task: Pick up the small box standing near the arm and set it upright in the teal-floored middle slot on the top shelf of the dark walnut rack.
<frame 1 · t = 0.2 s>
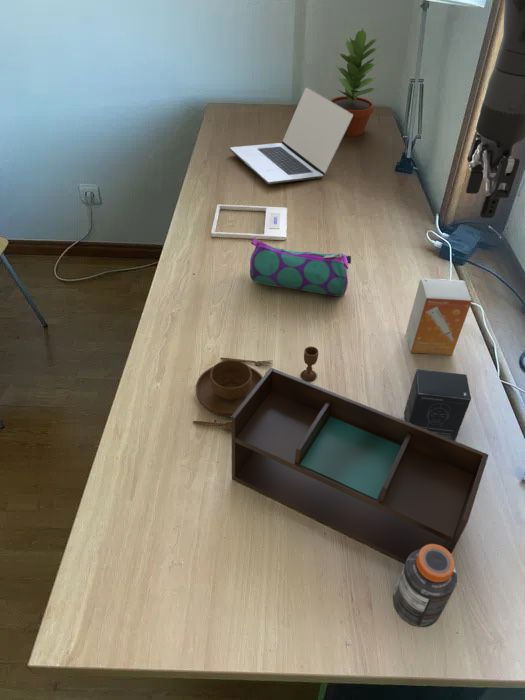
hand: (478, 204, 93), 27 cm above the table, tool pointing down, fingers open, 8 cm apart
box: (427, 429, 92), on the table
rack: (343, 497, 82), on the table
potted plant: (348, 131, 189), on the table
place setting: (254, 397, 96), on the table
pencil case: (297, 287, 121), on the table
pill bottle: (415, 605, 70), on the table
small box: (428, 344, 108), on the table
laptop: (284, 164, 167), on the table
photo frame: (250, 223, 140), on the table
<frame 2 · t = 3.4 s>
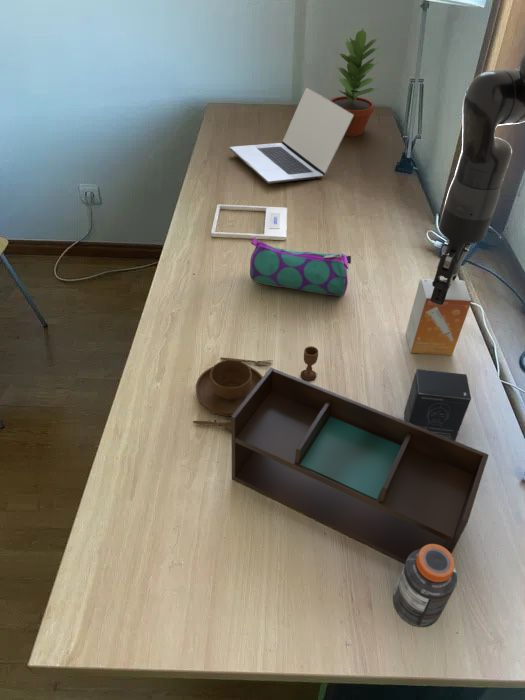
hand: (443, 290, 99), 13 cm above the table, tool pointing down, fingers closed on small box, 8 cm apart
small box: (428, 344, 108), on the table, touching gripper
everything else where it was.
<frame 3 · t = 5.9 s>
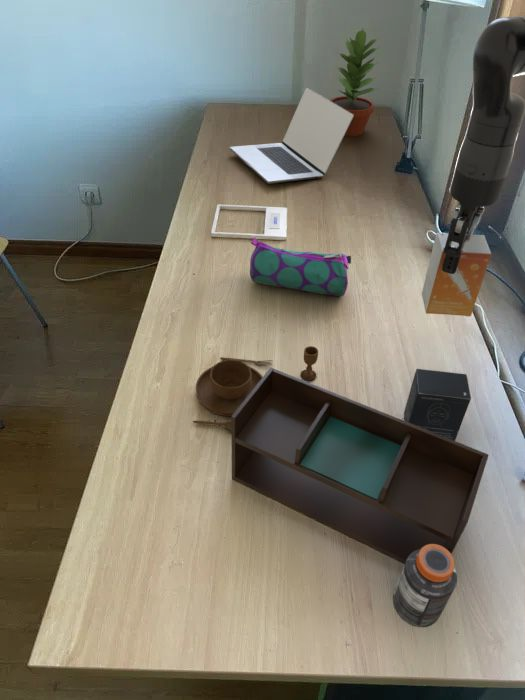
hand: (455, 259, 95), 19 cm above the table, tool pointing down, fingers closed on small box, 8 cm apart
small box: (445, 306, 102), point 9 cm above the table, touching gripper
everything else where it was.
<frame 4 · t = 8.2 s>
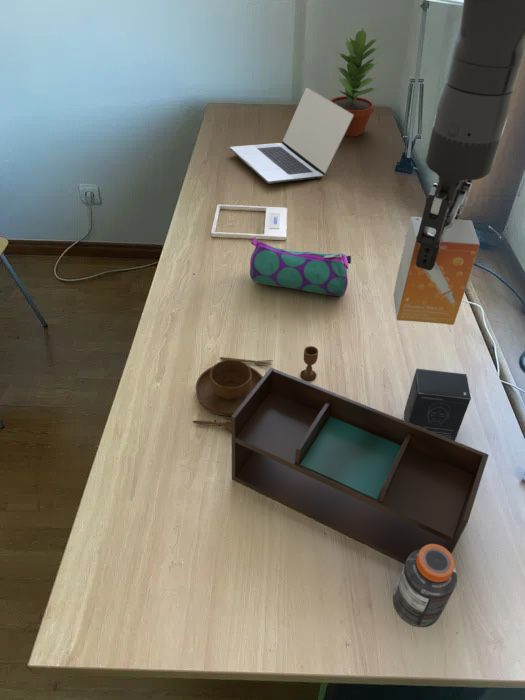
hand: (434, 252, 74), 31 cm above the table, tool pointing down, fingers closed on small box, 8 cm apart
small box: (422, 311, 80), point 21 cm above the table, touching gripper
everything else where it was.
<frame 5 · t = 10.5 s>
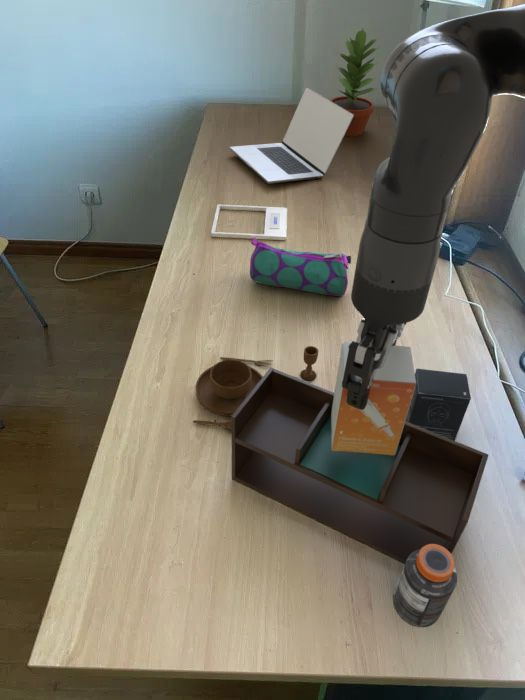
hand: (369, 382, 66), 24 cm above the table, tool pointing down, fingers closed on small box, 8 cm apart
small box: (361, 436, 72), point 14 cm above the table, touching gripper
everything else where it was.
when the fingers open (20 cm above the table, at t = 12.3 s): small box stays where it is, resting on rack.
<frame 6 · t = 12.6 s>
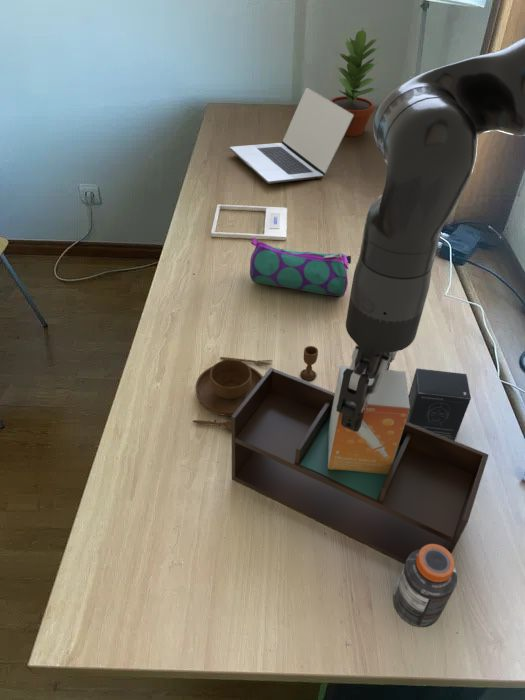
hand: (363, 403, 68), 20 cm above the table, tool pointing down, fingers open, 8 cm apart
small box: (357, 455, 75), point 10 cm above the table, touching rack
everything else where it was.
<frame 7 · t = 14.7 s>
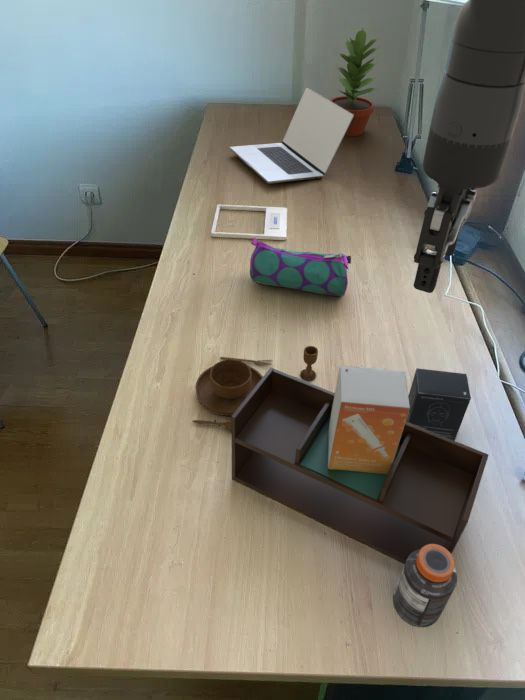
hand: (434, 270, 64), 35 cm above the table, tool pointing down, fingers open, 8 cm apart
nothing on the table moved.
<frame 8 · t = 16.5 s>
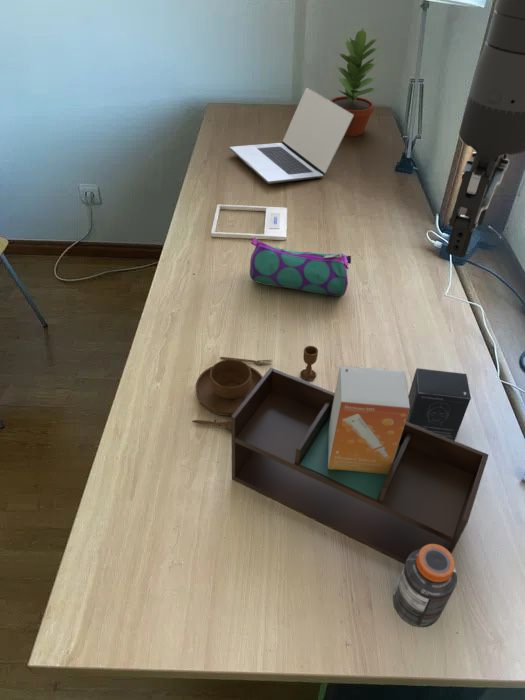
hand: (464, 238, 67), 36 cm above the table, tool pointing down, fingers open, 8 cm apart
nothing on the table moved.
at the end: small box inside the target area on the rack (0.6 cm from its centre), point 10.0 cm above the rack's base; small box tilted 0° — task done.
